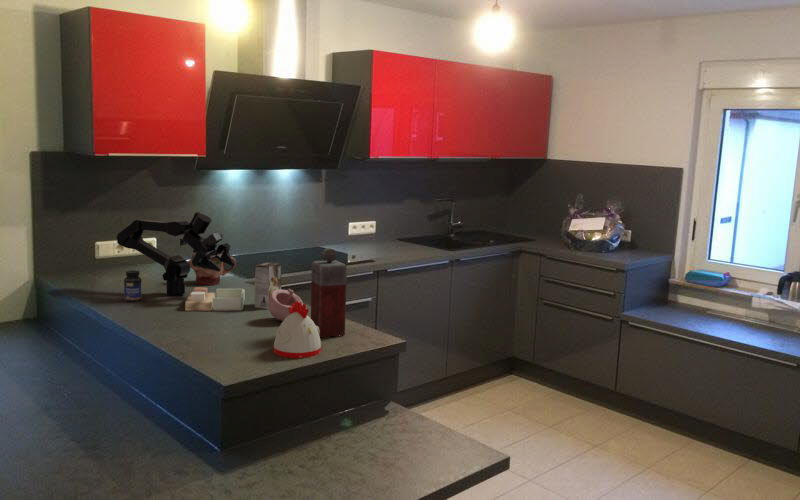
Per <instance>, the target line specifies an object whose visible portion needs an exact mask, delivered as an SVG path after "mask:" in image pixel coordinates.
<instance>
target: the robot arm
mask: <svg viewBox="0 0 800 500" xmlns="http://www.w3.org/2000/svg"><path fill="white" fill-rule="evenodd" d="M212 221H213V220H212V219H211V218H210V216H209V215H205V214H203V213H201V212H198V211H196V212H195V213H194V215H193V217H192V218H191V221H190V222H188V221H187V220H184V219H182V220H173V221H161V220H152V219H150V220H149V219H144V218H140V219H135V220H133V221H132V222H131V224H129V225H128V226H126V227H125V228H124V229H122V231H120V232H119V233H117V235H116V242H117V244H118V245H119V246H120V247H123V248H126V249H129V250H130V249H131V250H135V251H137V252H139V253H140V254H142V255H144V256H145V257H147V258H149V259H150V260H152V261H154V262H156V263H157V264H159V265H161V266H162V267H163V268H164V270H165V272H163V274H162V279H163V280H164V281H166V293H165V296H166V297H178V296H179V297H182V296H184V295H185V294H186V291H187V290H186V288H187V287H186V284H187V283H186V281H185V279H186V278H188V275H189V273H190V272H191V268H190V264H189V262H188V261H187V260H188V259H186V258H184V257H182V256H181V255H179V254H177V255H172V256H171V255H169V254H167V253H165V252H164V251H162V250H160V249H158V248H157V247H156V246H153V245H152V244H151V243H148V242H147V241H145V240H144V238H143V234H144V231H153V232H162V233H166V234H167V235H170V236H173V237H180V236H182V238H179V245H180V246H186V245H188V246H189V247H190V248H191V249H192V253H195V255H194V257H193V259H192V264H193V265H194V266H195V267H202V268H207V269H211V270H215V271H220V270H221V269H220V268H219V266H218V265H217V264H216V263H215V262H214V261H213V260H212V259H211V257H214V256H215V257H216V258H218V259H219V261H222V262H224V263H225V265H226V264H227V266H228V265H229V266H231V267H232V266H234V265H235V263H234V262H233V260H232V258H231V257H232V256H231V255H230V249H231V244H229V243H228V242H227V243H226V242H225V243H220V244H218V243H219V242H221V241H222V240H223V237H224V236H223V233H222V232H219V231H215V232H214V233H212V234H209V236H207V237H206V238H204V237H203V236H202V235H203V234H205V233H206V231H207V229H208V228H209V227H210V225H211V223H212ZM201 234H202V235H201ZM235 266H236V265H235Z"/></svg>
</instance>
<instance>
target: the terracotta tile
mask: <svg viewBox="0 0 800 500" xmlns="http://www.w3.org/2000/svg"><path fill="white" fill-rule="evenodd" d="M193 292H205V296H207V293H208V286H207V287H205V286H204V287H202V286H201V287H200V286H197V287H194V288H193Z"/></svg>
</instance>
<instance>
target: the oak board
mask: <svg viewBox="0 0 800 500" xmlns="http://www.w3.org/2000/svg"><path fill="white" fill-rule="evenodd" d="M192 292H193V291H191V292H190V293H189V295H188V297H187V299H186V300H185V302H184V303H185V304H184V307H185V309H184V310H185V311H186V312H187V311H188V312H189V311H191V312H192V311H198V312H199V311H200V312H202V311H204V312H205V311H210V312H211V311H213V298H216V292H207V296H205V300H204V301H191V294H192Z"/></svg>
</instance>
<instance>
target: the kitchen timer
mask: <svg viewBox="0 0 800 500" xmlns="http://www.w3.org/2000/svg"><path fill="white" fill-rule="evenodd" d="M309 310H310V309H309V308H307V304H306V303H303V305H302V303H301V302H299V303H298V301H295V304H292V307H289V312H290V315H289V316H288V317H286V318H285V319H284V321H281V323H280V325H279V327H278V329H277V330H276V332H275V339H274V342H273V353H274V355H276V354H277V356H278V355H279V357H282V356H283V357H282V358H287V357H289V359H304V358H303V357H307V358H311V356H312V357H315V355H316V356H318V355H320V354H321V353H322V341H321V338H320V336H319V333H320V330H319V327H318V326H316V325H315V324H314V322H313V321H312V320H311V316H309V315H308V314H309ZM320 352H321V353H320ZM319 353H320V354H319ZM317 354H318V355H317Z"/></svg>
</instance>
